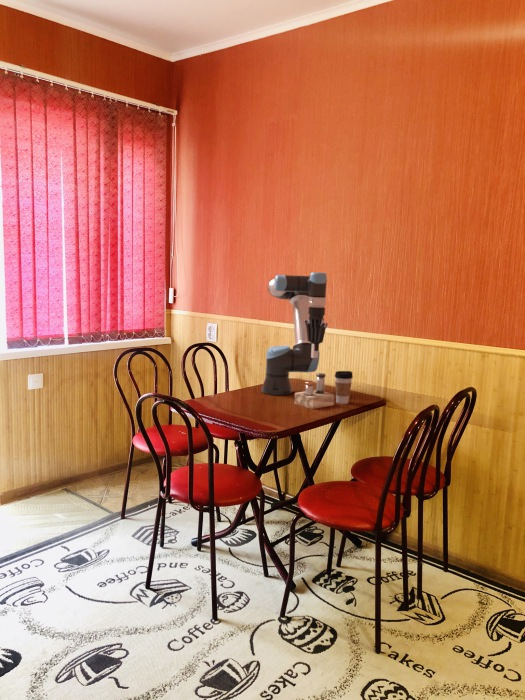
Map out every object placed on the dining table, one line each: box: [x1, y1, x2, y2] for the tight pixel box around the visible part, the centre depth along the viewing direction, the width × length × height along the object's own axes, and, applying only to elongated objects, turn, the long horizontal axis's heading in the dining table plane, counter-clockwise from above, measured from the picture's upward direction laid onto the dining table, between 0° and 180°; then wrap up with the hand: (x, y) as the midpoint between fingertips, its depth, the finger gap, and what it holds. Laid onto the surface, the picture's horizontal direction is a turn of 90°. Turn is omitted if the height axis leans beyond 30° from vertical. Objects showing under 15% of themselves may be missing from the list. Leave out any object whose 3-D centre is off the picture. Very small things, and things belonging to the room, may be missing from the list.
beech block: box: [293, 389, 335, 410], centre depth 267 cm, size 12×14×5 cm
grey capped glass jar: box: [315, 372, 327, 394], centre depth 268 cm, size 4×4×9 cm
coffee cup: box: [334, 370, 353, 405], centre depth 272 cm, size 8×8×15 cm
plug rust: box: [304, 380, 315, 396], centre depth 264 cm, size 4×4×9 cm
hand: (314, 357), depth 263 cm, fingers closed
